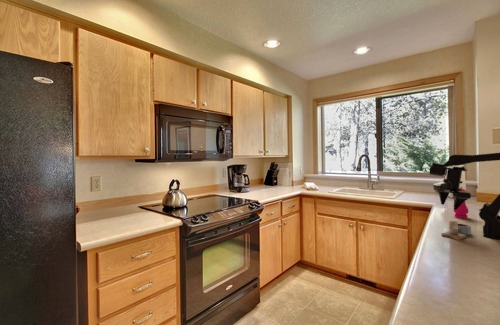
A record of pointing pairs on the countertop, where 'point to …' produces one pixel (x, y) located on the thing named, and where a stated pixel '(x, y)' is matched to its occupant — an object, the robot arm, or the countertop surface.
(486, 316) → the countertop surface
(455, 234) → the post stand
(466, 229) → the steel collar
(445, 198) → the robot arm
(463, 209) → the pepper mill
